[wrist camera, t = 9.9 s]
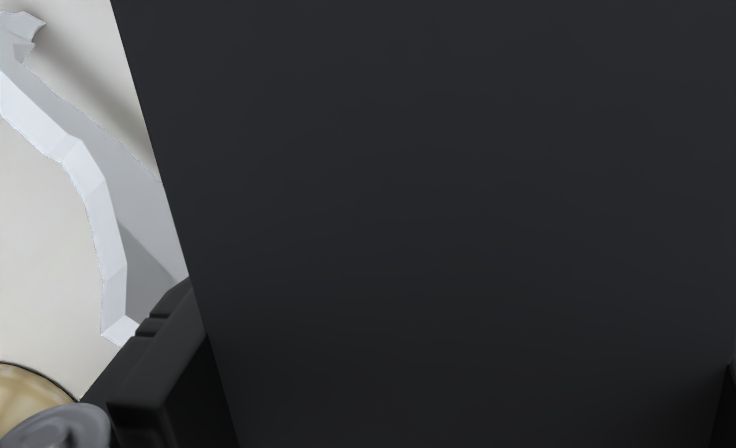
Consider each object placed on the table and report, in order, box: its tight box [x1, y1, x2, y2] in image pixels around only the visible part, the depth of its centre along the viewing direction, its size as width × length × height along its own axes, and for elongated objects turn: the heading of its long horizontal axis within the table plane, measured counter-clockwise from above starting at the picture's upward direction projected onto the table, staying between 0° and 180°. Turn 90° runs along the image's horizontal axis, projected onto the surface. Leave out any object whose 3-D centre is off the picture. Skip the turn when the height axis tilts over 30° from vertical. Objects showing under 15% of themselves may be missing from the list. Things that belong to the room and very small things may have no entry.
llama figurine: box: [0, 11, 189, 348], centre depth 24 cm, size 2×11×18 cm
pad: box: [110, 0, 736, 448], centre depth 8 cm, size 6×10×3 cm, turn 6°
